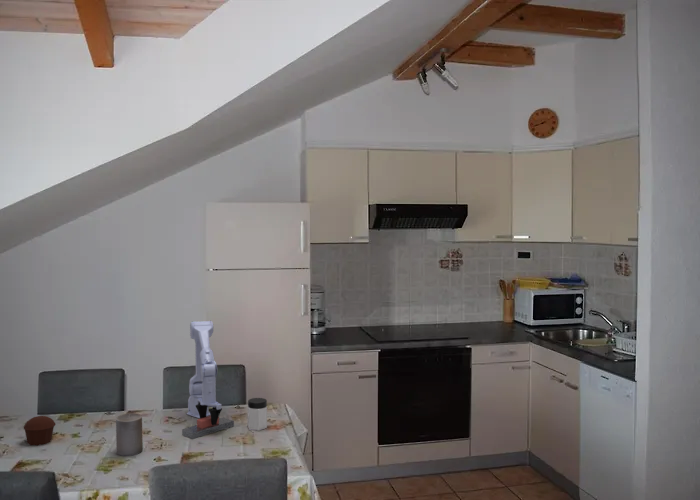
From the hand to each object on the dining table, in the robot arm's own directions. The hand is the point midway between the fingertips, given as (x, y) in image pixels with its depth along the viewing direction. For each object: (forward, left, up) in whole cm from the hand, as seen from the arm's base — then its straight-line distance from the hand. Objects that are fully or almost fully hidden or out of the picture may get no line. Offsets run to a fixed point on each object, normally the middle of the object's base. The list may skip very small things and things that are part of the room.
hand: (208, 422), depth 279 cm
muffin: (-39, -54, -4) cm, 67 cm away
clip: (0, 0, -3) cm, 3 cm away
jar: (+12, +17, -4) cm, 21 cm away
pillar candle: (-3, -36, -4) cm, 36 cm away
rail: (0, 0, -3) cm, 3 cm away
